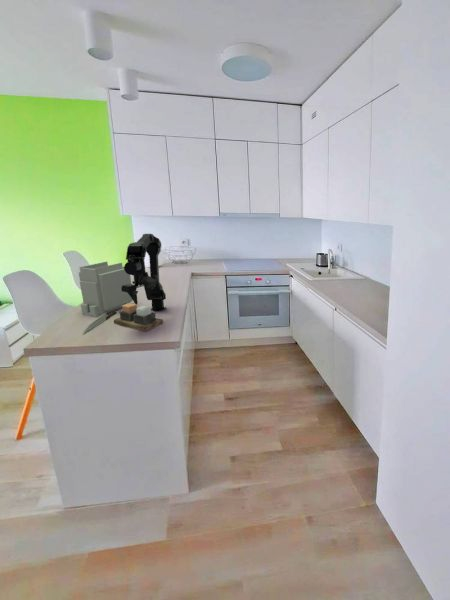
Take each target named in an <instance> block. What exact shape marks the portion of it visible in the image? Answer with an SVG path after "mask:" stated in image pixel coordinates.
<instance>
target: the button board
mask: <svg viewBox="0 0 450 600" xmlns="http://www.w3.org/2000/svg"><path fill="white" fill-rule="evenodd" d="M151 312H152V311H151ZM113 323H114V324H115V325H119V326H123V327H125V328H130V329H134V330H137V331H141V332H145V333H146V332H148V331H150V330H152V329H154V328H156V327H159V326H161V325H162V324H163V323H164V321H163V318H162V319H161V318H157V317H156V312H155V311H153V312H152V314H149V315H147V316H145V317H143V316H139V315H137V312H136V311H134V312H132V313H126V312H123V310H120V311H119V317H117V318H115V319H113Z"/></svg>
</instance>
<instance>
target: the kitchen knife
mask: <svg viewBox="0 0 450 600" xmlns="http://www.w3.org/2000/svg"><path fill="white" fill-rule="evenodd" d="M116 314H117V310H114V311H111V312H110V313H104V314H103V315H101V316H97V318H96V319H95V320H93V321H91V322H90V323H89V324H88V325H87V326H86V327H85V328H84V330H83V332H82V334H81V335H82V336H84V335H85V334H86V333H87V332H89V331H90V330H92V329H93V328H95V327H97V326H98V325H100V324H102V323H104V322H105V321H107V320H109V319H111V318H112V317H114V316H115V315H116Z"/></svg>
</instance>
